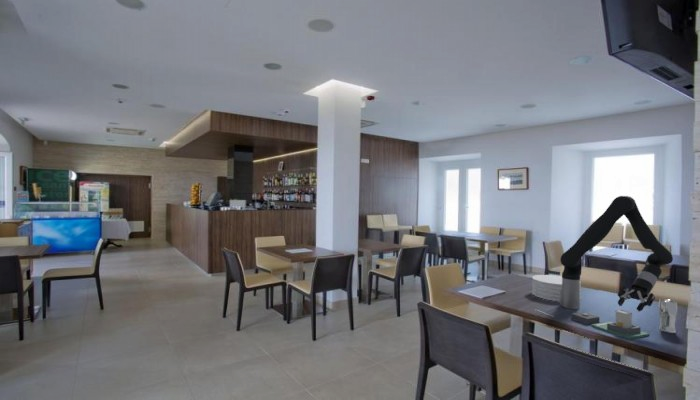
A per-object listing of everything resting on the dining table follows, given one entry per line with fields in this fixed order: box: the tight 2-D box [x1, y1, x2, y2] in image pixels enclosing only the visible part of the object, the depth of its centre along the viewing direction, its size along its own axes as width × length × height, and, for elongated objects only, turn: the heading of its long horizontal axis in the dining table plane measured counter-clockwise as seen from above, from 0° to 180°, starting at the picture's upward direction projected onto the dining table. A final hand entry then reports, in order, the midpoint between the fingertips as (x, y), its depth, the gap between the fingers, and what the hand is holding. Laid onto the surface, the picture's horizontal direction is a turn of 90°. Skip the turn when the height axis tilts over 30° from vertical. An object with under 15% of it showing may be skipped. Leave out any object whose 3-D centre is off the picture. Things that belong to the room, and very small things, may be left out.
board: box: [590, 321, 650, 340], centre depth 177 cm, size 18×14×4 cm
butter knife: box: [536, 309, 556, 318], centre depth 197 cm, size 1×27×3 cm
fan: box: [570, 311, 600, 326], centre depth 191 cm, size 9×9×4 cm
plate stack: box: [531, 274, 582, 302], centre depth 239 cm, size 28×28×12 cm
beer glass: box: [658, 298, 678, 334], centre depth 178 cm, size 7×7×15 cm
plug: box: [615, 309, 633, 329], centre depth 175 cm, size 4×5×9 cm
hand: (628, 307), depth 177 cm, fingers open, 8 cm apart
